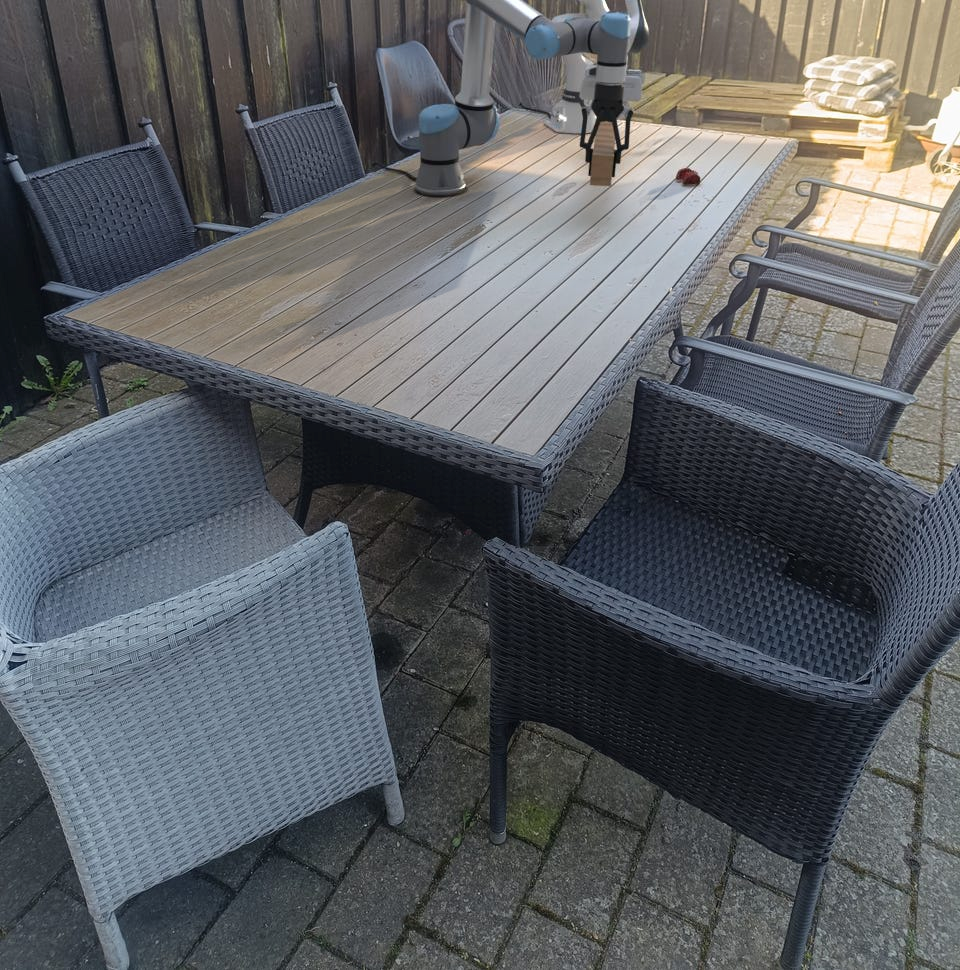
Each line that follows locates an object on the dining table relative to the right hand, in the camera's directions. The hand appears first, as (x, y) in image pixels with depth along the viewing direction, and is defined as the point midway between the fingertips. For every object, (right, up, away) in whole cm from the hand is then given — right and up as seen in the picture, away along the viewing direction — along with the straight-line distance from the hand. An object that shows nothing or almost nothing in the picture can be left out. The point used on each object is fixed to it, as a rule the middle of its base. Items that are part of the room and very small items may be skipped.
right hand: (608, 114), depth 278 cm
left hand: (-9, -38, -49) cm, 62 cm away
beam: (-5, -20, -23) cm, 31 cm away
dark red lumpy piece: (+23, -27, -14) cm, 38 cm away
